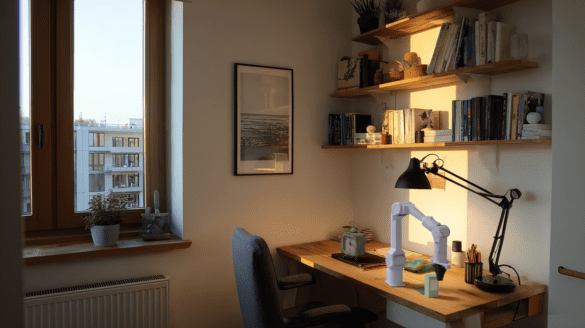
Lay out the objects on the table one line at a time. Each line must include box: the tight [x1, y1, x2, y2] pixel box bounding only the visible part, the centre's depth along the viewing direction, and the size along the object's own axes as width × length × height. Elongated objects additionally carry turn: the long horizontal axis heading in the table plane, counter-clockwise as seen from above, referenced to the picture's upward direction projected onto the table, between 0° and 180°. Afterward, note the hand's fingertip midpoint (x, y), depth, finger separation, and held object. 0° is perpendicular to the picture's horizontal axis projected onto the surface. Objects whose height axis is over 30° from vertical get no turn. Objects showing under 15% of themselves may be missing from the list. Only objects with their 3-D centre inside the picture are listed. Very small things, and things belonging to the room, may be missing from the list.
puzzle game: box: [403, 258, 436, 274], centre depth 246 cm, size 12×5×20 cm
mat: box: [412, 286, 425, 295], centre depth 208 cm, size 10×7×1 cm
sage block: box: [424, 273, 440, 298], centre depth 200 cm, size 4×5×10 cm
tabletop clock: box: [340, 220, 367, 260], centre depth 267 cm, size 14×9×25 cm, turn 37°
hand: (439, 280), depth 193 cm, fingers closed
